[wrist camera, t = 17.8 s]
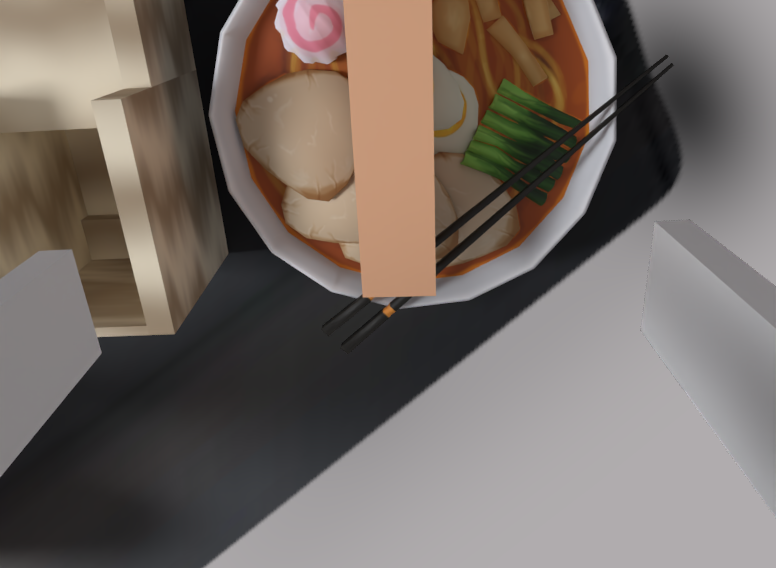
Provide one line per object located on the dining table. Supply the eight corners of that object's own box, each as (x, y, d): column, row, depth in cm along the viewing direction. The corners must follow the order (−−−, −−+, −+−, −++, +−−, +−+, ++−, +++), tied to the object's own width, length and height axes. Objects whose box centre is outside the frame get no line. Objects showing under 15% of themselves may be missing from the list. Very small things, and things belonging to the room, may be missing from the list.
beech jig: (228, 253, 47) (175, 334, 36) (83, 259, 47) (-13, 341, 36) (160, -130, 36) (56, -180, 26) (-23, -116, 37) (-202, -160, 26)
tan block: (434, 267, 38) (435, 295, 34) (367, 269, 38) (362, 297, 34) (428, -124, 30) (429, -142, 26) (344, -119, 30) (333, -136, 26)
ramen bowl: (447, -209, 35) (458, -263, 27) (667, 110, 41) (724, 136, 34) (158, 101, 42) (105, 125, 35) (385, 327, 49) (382, 387, 42)
